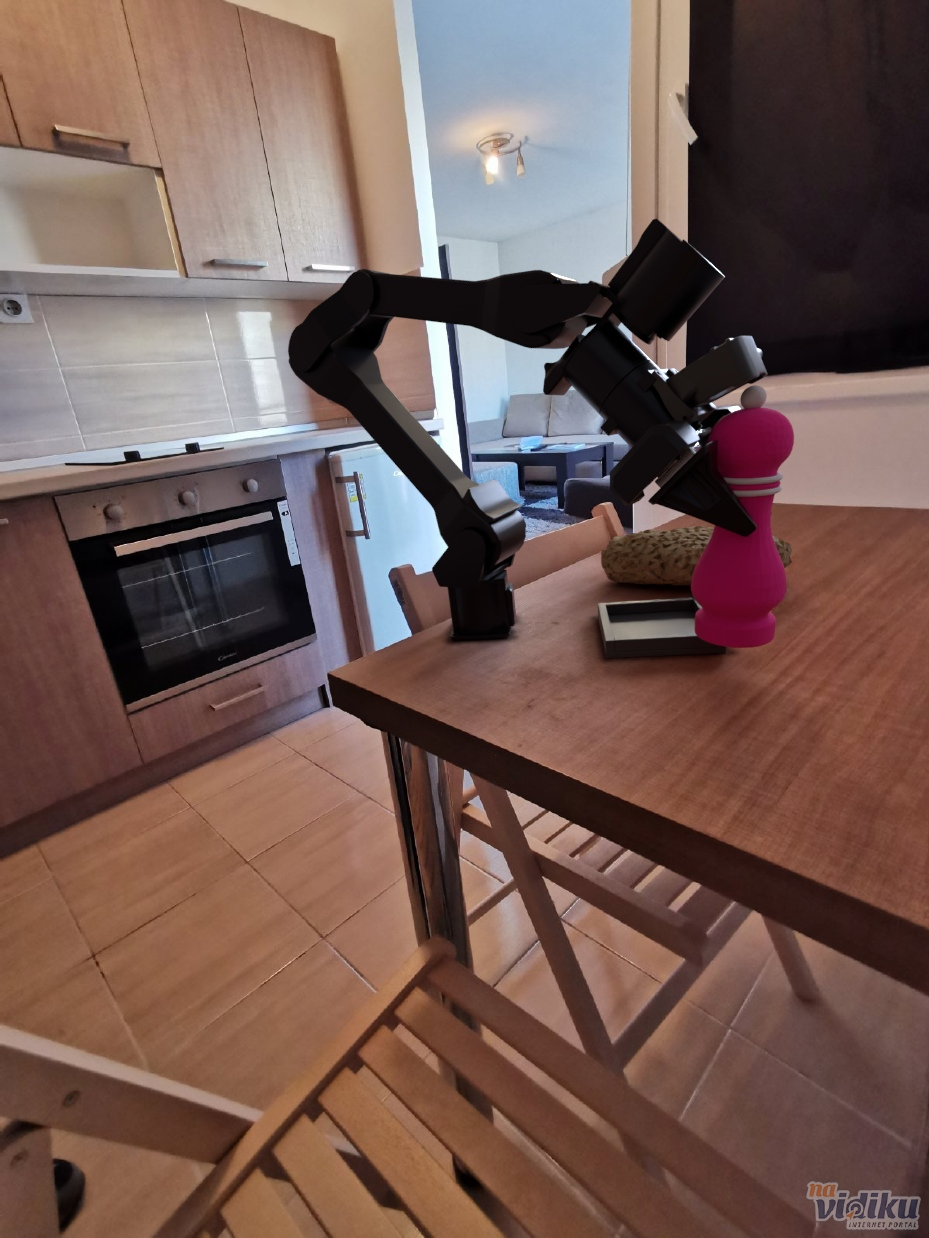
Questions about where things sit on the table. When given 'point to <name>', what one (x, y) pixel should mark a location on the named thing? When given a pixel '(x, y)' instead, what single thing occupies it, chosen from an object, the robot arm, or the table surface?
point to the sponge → (663, 555)
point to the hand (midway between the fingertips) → (759, 525)
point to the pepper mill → (732, 564)
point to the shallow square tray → (652, 628)
